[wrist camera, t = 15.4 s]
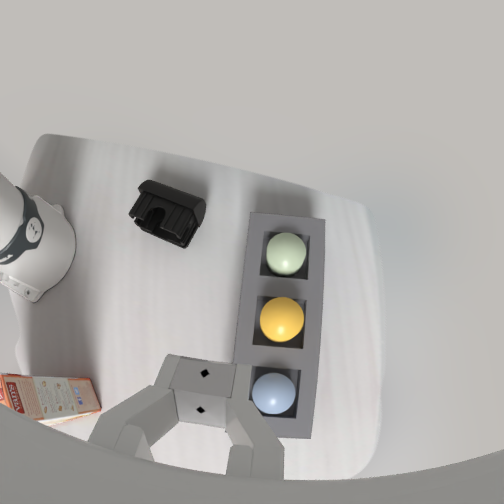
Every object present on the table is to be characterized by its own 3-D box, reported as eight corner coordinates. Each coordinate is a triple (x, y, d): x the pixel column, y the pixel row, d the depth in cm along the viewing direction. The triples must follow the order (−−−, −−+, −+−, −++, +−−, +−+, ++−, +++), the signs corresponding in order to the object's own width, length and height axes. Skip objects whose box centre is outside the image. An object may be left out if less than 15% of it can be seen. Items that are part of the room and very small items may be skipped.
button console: (230, 421, 40) (225, 432, 33) (251, 235, 50) (250, 212, 42) (301, 426, 40) (310, 438, 32) (315, 241, 49) (325, 219, 42)
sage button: (264, 275, 41) (265, 267, 38) (267, 241, 43) (268, 230, 40) (301, 279, 41) (305, 271, 38) (303, 244, 43) (306, 234, 40)
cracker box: (90, 375, 42) (0, 370, 22) (103, 411, 40) (16, 427, 21) (30, 395, 40) (-58, 392, 21) (42, 428, 38) (-46, 439, 19)
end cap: (209, 213, 51) (203, 191, 45) (189, 251, 49) (179, 233, 43) (158, 193, 53) (147, 171, 47) (137, 228, 51) (123, 209, 44)
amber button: (257, 340, 37) (258, 337, 34) (261, 301, 39) (262, 295, 35) (298, 343, 37) (302, 341, 33) (301, 304, 38) (305, 298, 35)
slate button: (250, 408, 36) (250, 412, 32) (254, 370, 37) (254, 371, 34) (289, 411, 35) (293, 415, 32) (293, 373, 37) (297, 374, 34)
